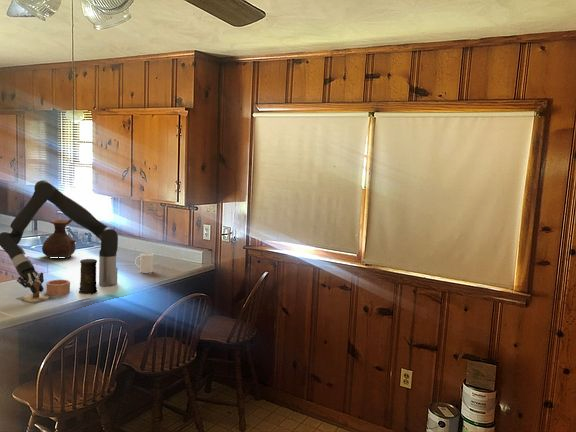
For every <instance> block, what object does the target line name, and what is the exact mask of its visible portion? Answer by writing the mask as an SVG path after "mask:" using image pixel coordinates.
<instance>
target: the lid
mask: <svg viewBox="0 0 576 432" xmlns="http://www.w3.org/2000/svg"><path fill="white" fill-rule="evenodd" d="M32 283H33V285H34V287H35V288H36V290H37V292H36V293H35V294H34V293H31V294H27V295H24V296H22V297H23V302H25V301H26V303H29V302H39V301H44V300H47V299H49V296H50V295H48V294H47V293H40V291H39V281H33V282H32Z"/></svg>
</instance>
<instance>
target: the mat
mask: <svg viewBox="0 0 576 432" xmlns="http://www.w3.org/2000/svg"><path fill="white" fill-rule="evenodd" d="M23 297H24V296H21V297H16V298H15V300H19V301H23ZM56 299H57V297H52V296H51V295H49V299H47V300H44V301H39V302H28V303H29V304H33V305H38V304H41V303H45V302H49V301H53V300H56ZM23 302H24V303H25V302H26V301H23ZM26 303H27V302H26Z"/></svg>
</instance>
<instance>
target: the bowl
mask: <svg viewBox="0 0 576 432" xmlns="http://www.w3.org/2000/svg"><path fill="white" fill-rule="evenodd" d="M45 285H46V286H45V287H46V289H45V290H46V293H45V294H48V295H49V296H63V295H66V294H69V293H70V292H71V290H70V289H71V281H70V280H68V279H52V280H49V281H47V282H46V284H45Z"/></svg>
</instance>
